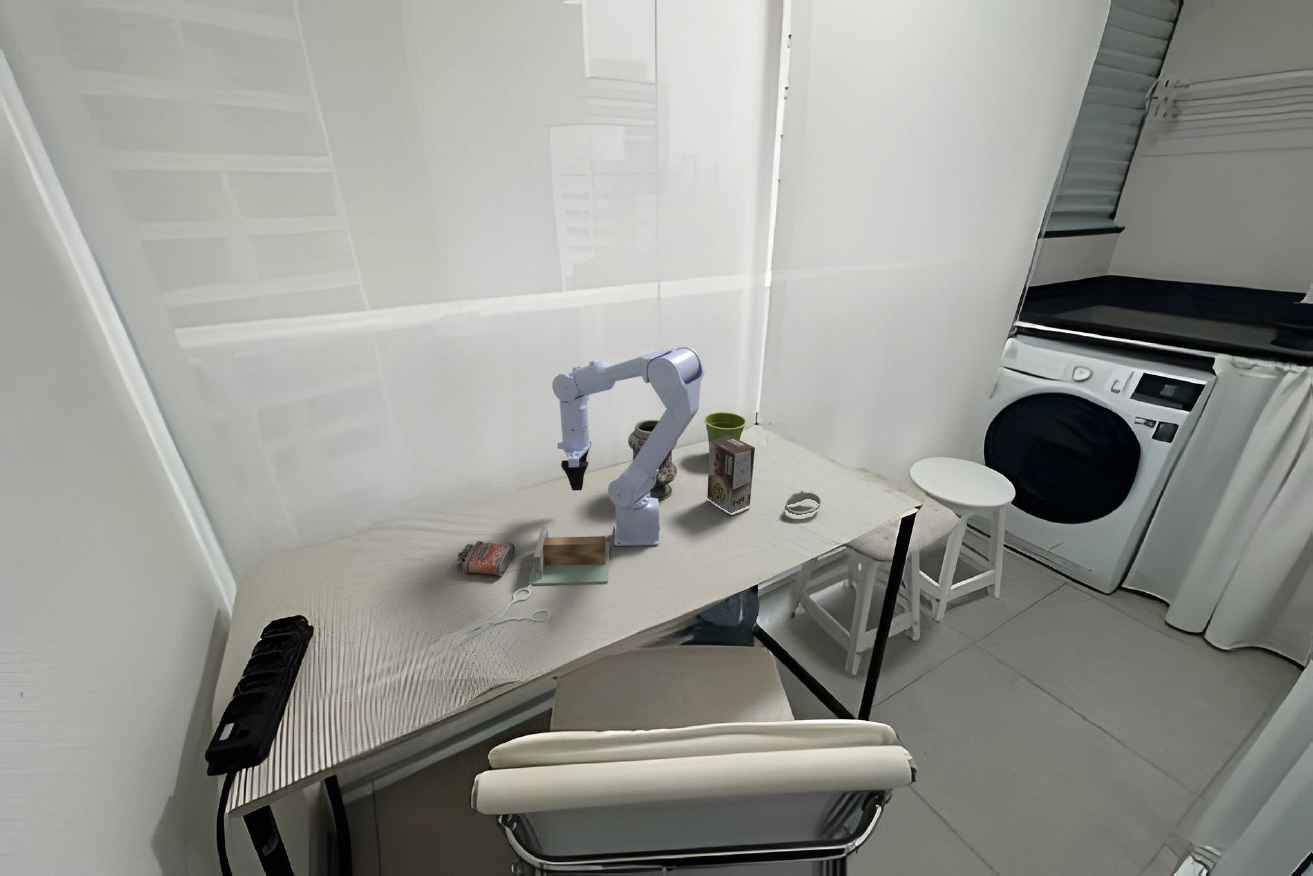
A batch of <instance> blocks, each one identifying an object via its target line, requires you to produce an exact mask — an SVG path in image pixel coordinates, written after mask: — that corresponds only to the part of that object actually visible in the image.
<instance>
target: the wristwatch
mask: <svg viewBox="0 0 1313 876" xmlns="http://www.w3.org/2000/svg"><path fill="white" fill-rule="evenodd" d="M805 499H811V500H814V501H816V502H817V503H818V504H819V505H818V506H816V507H813V508H810V509H807V510H804V511H796V510H792V509H791V508H790V507H789V508H788V506H787V505H790V504H795V503H797V502H801V501H803V500H805ZM821 503H822V498H821V497H820V496H819V495H818V494H816V493H814V492H811V491H809V492H807V491H804V490H800V491H797V492H794V493H793V494H791V495H790V496H789V497H788V498H787V500H786V502H785V505H784V509H785V510H787V511H788V512H789V513H792V514H796V515H802V514H807V513H812V512H814V511H815V510H817V509H818V508H819V507H820V508H821ZM820 508H819V509H820Z"/></svg>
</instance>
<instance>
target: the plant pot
mask: <svg viewBox="0 0 1313 876" xmlns="http://www.w3.org/2000/svg"><path fill="white" fill-rule="evenodd" d="M703 422H704V424H705V427H706V432H707V441H708V443H709V442H710V441H713V440H716V439H718V438H721V437H724V436H728V435H730V436H732V437H734V438H736V439H738V440H740V439H741V435H742V433H743V431H744V427H746V425H747V424H748V423H747V422H748V421H747V418H745V417H744V416H742V415H740V414H737V413H733V412H728V411H727V412H725V411H721V412H719V411H718V412H712V413H708V414H707V415H706V416H704V418H703ZM740 441H741V440H740Z"/></svg>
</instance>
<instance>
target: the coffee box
mask: <svg viewBox="0 0 1313 876" xmlns="http://www.w3.org/2000/svg"><path fill="white" fill-rule="evenodd" d="M708 447H709V448H708V470H707V471H708V473H707V493H706V494H707V496H706V497H707V498H708V499H709V500H711V501H712V502H714V503H715V504H717V505H718V506H720V507H721V508H723V509H725V510H727V511H728V512H730V513H733V512H735V511H737V510H740V509H742V508H745V507H746V506H749V505H750V506H751V498H752V487H753V486H752V484H753V473H754V464H755V463H754V461H755V452H756V451H755V450H756V447H755V446H752V445H750V444H749V443H746V442H744V441H742V440H738V439H736V438H734V437H732V436H730V435H728V436H724V437H721V438H718V439H716V440H713V441H710V442H709V441H708Z"/></svg>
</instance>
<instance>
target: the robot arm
mask: <svg viewBox="0 0 1313 876" xmlns="http://www.w3.org/2000/svg"><path fill="white" fill-rule="evenodd" d="M673 350H674V348H670V349H669V348H668V349H662V350H658V351H653V352H649V353H645V354H644V355H640V356H636V357H634V358H631V359H628V360H625V361H622V362H619V363H615V364H612V365H611V364H610V363H609V362H607V361H599V359H594V360H592V361H589V363H588V365H584V366H582V367H581V366H580V365H577V366H575V367H572V369H570V370H568V371H566V372H563V373H559V374H558V375H557V376H555V377H554V378H553V380H552V385H551V386H552V390H553V393H554V395H555V397H556V398H557V399H558V400H559V410H560V424H561V435H562V436H561V438H562V441H561V442H559V441H558V443H557V445H556V446H557V449H559V450H563V453H564V454H565V456H566V458H567V460H566V459H565V460H564V459H563V460H561V466H560V467H561V469H562V471H564V473H565V474H566V475H565V476H567V477H566V478H567V479H568V481H569V486H570V488H571V490H572V491H573V492H574V491H582V490H583V486H584V477H585V476H584V475H585V474H586V471H587V469H588V466H589V461H587V460H588V459H587V458H588V453H589V451H590V449H591V447H592V442H591V440H590V433H589V432H590V429H589V410H588V409H589V407H588V401H590V400H589V397H590V395H594V394H597V393H601V392H605V391H606V392H607V391H609V390H612V388H613V387H614V386H615V384H616V382H619V381H624V380H629V379H633V378H638V377H641V378H642V379H643V381H644V383H646V384H648V383H650V385H651V387H652V388H653V390H654V392H655V393H656V394H657V396H658V398H659V399H660V401H661V402H662V404H663V406H664V407H665V408H666V409H665V411H664V412H663V414H662V415H661V417H660V418H659V419H658V420H659V422H658V423H657V425H656V426H655V428H654V429H653V431H652V433H651V434H650V436H649V437H648V439H647V440H646V442H645V444H644V445H643V447H642V448H641V450H640V451H639V453H638V454H637V456H636V458H635V459H634V461H633V460H632V462H631V463H632V464H631V465H630V464H629V465H628V467H627V468H625V470H624V471H622V473H621V474H620V476H619V477H618V478H616V479H614V480H612V481H611V482H610V483H609V485H608V487H607V494H608V497H609V499H610V501H611V502H612V504H614V506H615V524H614V543H613V544H614V547H623V546H624V547H625V546H627V547H628V546H629V547H631V546H634V547H635V546H658V545H659V544H660V531H661V522H660V506H659V505H660V504H659V501H658V499H657V498H651V497H649V496H650V490H651V489H652V488H653V487H654V486H655V483H656V476H657V474H658V472H659V470H658V468H659V466H660V465H661V463H662V462H663V461H664V459H665V458H666V456H667V455H668V453H669V452H670V450H671V449H672V448H673V446H674V445H675V443H676V442H677V443H678V441H679V439H680V437H681V436H682V434H684V432H685V430H686V429H687V427H688V426H689V425H690V423H691V421H693V419H694V417H695V416H696V414H697V413H698V411H699V408H700V396H701V384H702V380H703V378H704V375H705V374H706V373H705V369H704V366H703V363H702V359H701V357H700V355H699V354H698V351H696V350H695V349H693V348H692V347H689V346H681V347H678V348H676V349H675V350H674V351H673ZM657 544H658V545H657Z"/></svg>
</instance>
